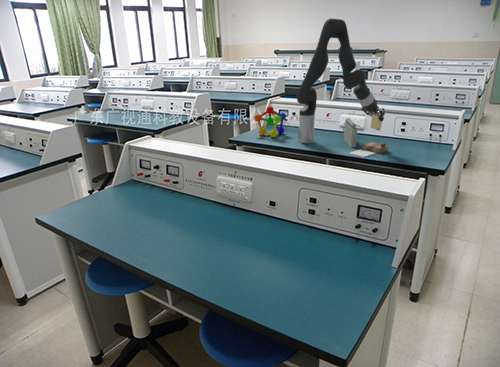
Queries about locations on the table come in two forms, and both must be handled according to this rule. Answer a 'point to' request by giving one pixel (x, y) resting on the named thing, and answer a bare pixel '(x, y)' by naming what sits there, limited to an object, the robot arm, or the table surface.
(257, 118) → the molecular model
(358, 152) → the mat
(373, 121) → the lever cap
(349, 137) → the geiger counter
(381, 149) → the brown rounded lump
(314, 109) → the robot arm
